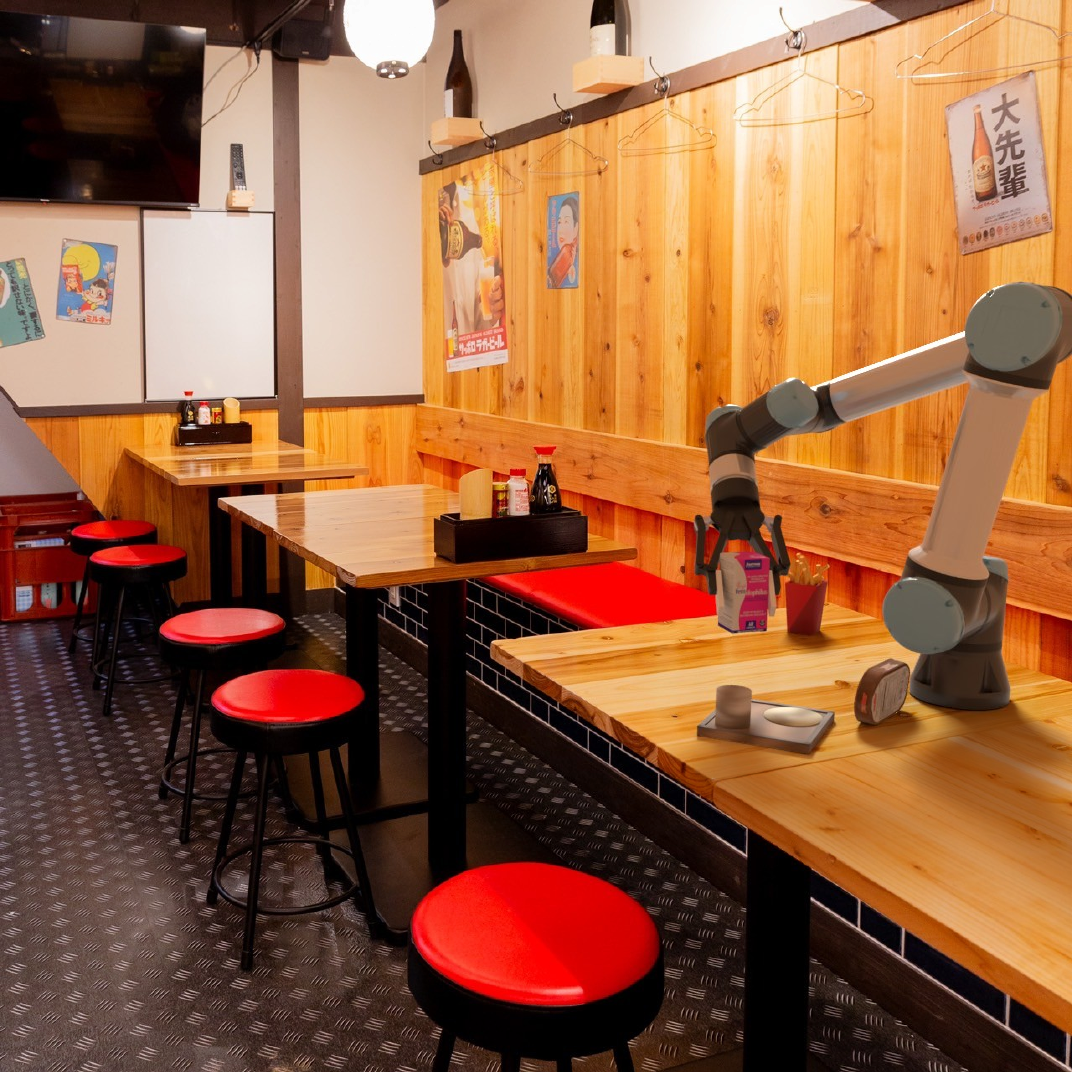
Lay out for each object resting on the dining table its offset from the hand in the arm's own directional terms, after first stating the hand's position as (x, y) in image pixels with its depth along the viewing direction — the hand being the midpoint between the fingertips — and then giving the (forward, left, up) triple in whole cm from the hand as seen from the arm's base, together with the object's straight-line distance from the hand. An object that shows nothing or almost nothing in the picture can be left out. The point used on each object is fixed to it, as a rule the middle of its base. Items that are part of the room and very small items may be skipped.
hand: (746, 611), depth 172 cm
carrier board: (-5, +4, -16) cm, 17 cm away
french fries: (+5, -55, -16) cm, 57 cm away
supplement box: (+1, -3, -4) cm, 5 cm away
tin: (-19, -9, -16) cm, 26 cm away
